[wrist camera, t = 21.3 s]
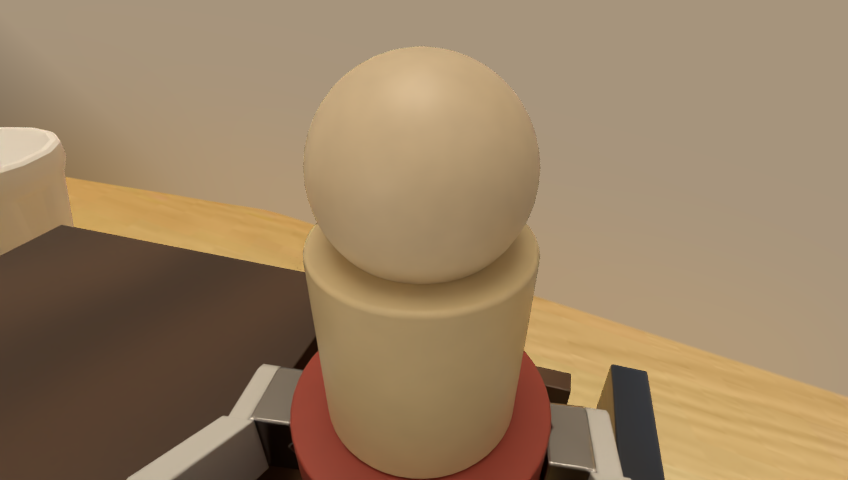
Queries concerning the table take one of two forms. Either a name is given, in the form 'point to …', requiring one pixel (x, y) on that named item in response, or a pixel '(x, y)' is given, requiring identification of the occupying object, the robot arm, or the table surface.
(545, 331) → the table surface
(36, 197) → the cup
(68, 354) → the cabinet
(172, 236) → the table surface
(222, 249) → the table surface
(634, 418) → the drawer
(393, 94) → the doll
